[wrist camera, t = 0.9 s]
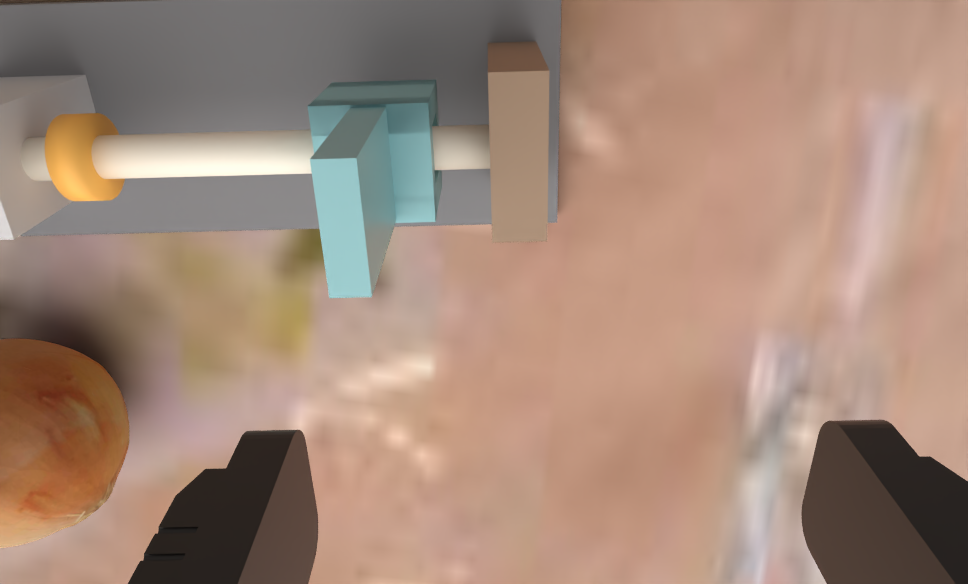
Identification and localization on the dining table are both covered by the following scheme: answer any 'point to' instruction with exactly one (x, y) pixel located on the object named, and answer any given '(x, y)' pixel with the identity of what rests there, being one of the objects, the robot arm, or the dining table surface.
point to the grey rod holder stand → (263, 109)
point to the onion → (55, 438)
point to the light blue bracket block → (371, 173)
